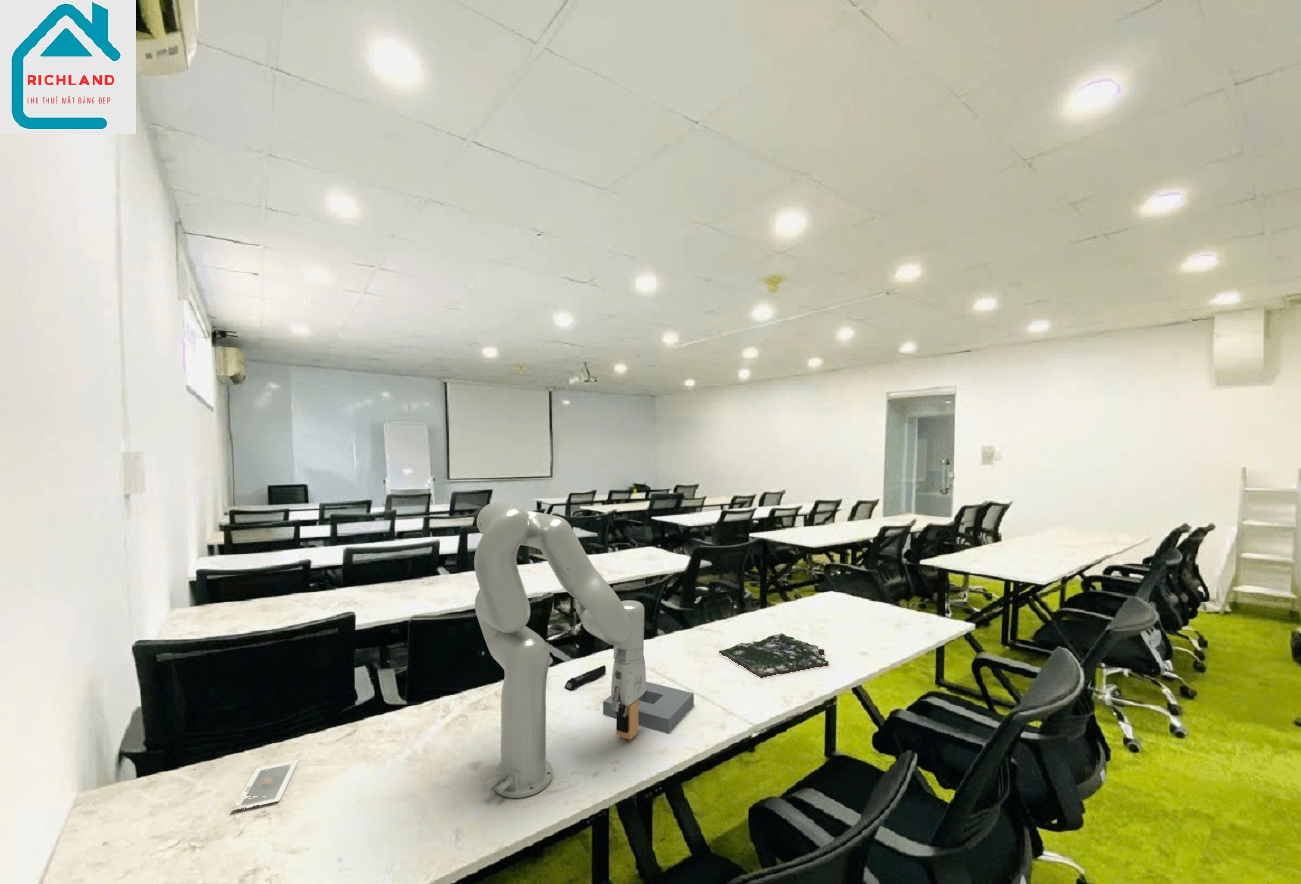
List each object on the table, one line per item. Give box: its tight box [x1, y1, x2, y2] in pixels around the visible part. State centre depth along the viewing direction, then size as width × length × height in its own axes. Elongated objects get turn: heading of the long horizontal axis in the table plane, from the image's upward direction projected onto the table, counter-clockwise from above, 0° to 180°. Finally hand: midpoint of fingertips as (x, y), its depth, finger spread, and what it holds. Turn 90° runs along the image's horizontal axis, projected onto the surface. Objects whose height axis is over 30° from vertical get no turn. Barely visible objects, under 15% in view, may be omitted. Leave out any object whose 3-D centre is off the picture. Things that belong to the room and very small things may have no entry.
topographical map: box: [718, 632, 830, 679], centre depth 172 cm, size 26×33×3 cm
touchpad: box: [234, 759, 299, 810], centre depth 105 cm, size 8×15×2 cm, turn 23°
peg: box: [615, 699, 639, 740], centre depth 123 cm, size 4×4×8 cm
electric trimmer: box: [564, 665, 607, 692], centre depth 154 cm, size 4×16×3 cm, turn 139°
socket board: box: [602, 681, 695, 734], centre depth 136 cm, size 16×20×4 cm
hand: (627, 726), depth 123 cm, fingers closed on peg, 4 cm apart
